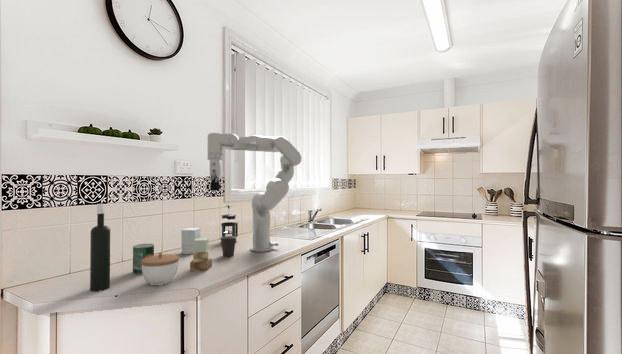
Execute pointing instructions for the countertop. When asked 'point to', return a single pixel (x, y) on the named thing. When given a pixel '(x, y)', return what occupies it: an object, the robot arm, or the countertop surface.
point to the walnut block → (201, 265)
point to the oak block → (200, 256)
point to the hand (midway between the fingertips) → (215, 190)
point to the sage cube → (201, 245)
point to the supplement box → (189, 239)
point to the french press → (229, 224)
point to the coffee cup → (228, 245)
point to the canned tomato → (141, 256)
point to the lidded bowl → (159, 268)
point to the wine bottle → (100, 253)
